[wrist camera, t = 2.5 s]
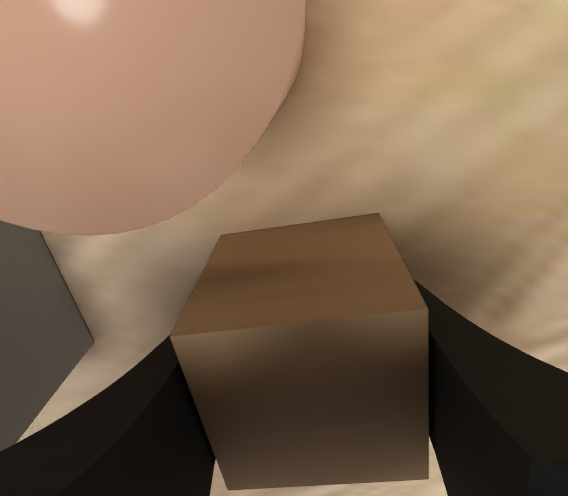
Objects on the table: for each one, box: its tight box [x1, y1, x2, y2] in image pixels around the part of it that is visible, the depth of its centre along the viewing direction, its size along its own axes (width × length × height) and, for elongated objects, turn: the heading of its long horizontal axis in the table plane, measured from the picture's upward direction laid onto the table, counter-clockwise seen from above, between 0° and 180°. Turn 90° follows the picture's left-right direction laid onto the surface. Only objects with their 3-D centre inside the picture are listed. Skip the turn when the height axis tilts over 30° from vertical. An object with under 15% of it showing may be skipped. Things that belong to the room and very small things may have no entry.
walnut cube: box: [170, 213, 429, 490], centre depth 10 cm, size 5×5×5 cm
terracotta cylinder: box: [0, 0, 306, 236], centre depth 6 cm, size 5×5×7 cm
